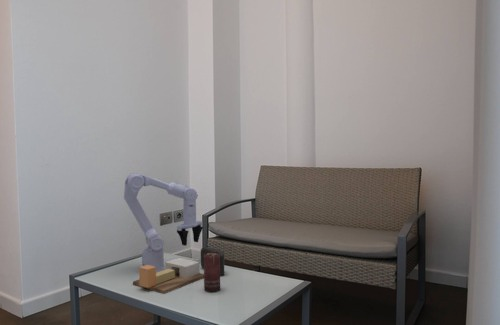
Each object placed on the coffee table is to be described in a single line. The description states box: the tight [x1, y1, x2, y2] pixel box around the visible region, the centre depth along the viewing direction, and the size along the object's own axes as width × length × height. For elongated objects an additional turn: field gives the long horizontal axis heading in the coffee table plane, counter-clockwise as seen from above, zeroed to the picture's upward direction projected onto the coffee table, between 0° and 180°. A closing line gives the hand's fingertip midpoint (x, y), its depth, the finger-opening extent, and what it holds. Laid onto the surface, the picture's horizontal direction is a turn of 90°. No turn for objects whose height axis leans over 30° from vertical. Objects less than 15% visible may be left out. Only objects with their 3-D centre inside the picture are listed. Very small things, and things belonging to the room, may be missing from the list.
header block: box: [164, 257, 201, 279], centre depth 171 cm, size 12×8×5 cm, turn 54°
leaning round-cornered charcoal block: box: [200, 247, 225, 276], centre depth 178 cm, size 16×5×9 cm, turn 40°
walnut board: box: [132, 272, 204, 294], centre depth 165 cm, size 18×23×1 cm
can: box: [203, 252, 221, 293], centre depth 155 cm, size 6×6×14 cm
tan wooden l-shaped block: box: [138, 265, 175, 288], centre depth 160 cm, size 5×14×7 cm, turn 144°
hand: (190, 243), depth 187 cm, fingers open, 7 cm apart
